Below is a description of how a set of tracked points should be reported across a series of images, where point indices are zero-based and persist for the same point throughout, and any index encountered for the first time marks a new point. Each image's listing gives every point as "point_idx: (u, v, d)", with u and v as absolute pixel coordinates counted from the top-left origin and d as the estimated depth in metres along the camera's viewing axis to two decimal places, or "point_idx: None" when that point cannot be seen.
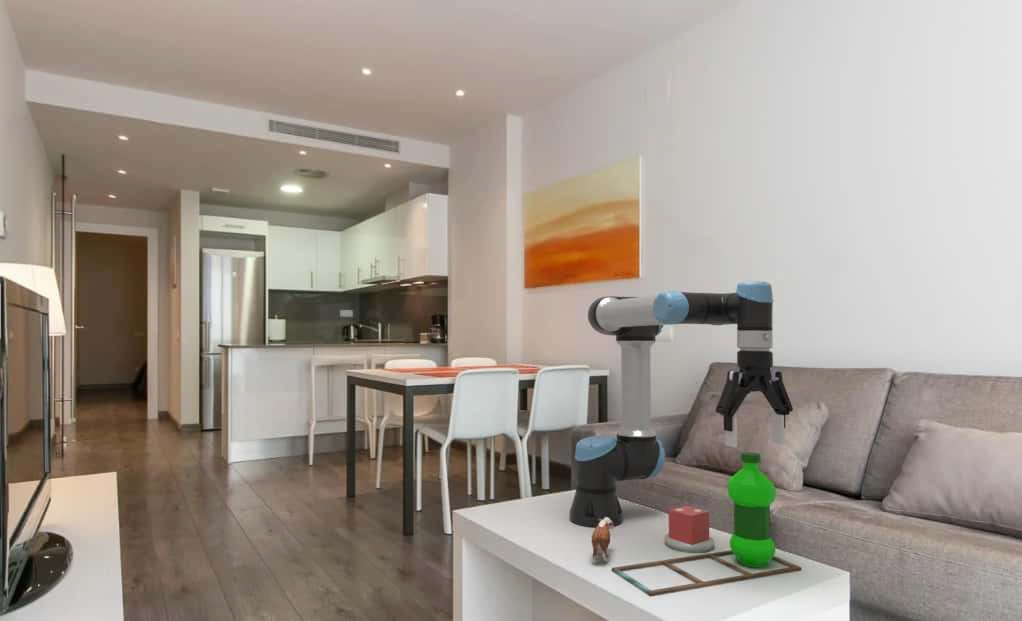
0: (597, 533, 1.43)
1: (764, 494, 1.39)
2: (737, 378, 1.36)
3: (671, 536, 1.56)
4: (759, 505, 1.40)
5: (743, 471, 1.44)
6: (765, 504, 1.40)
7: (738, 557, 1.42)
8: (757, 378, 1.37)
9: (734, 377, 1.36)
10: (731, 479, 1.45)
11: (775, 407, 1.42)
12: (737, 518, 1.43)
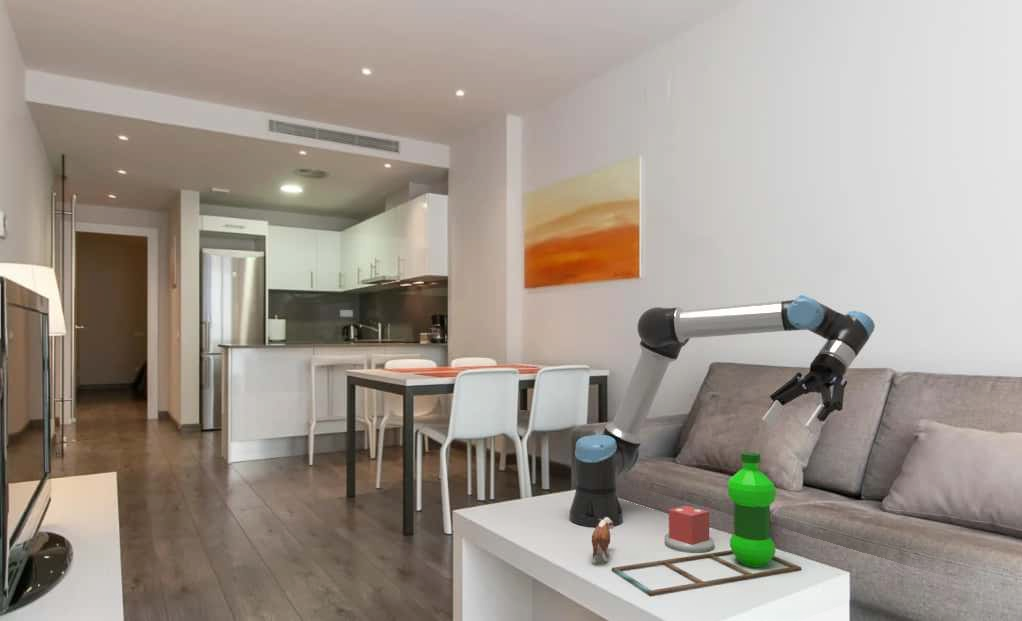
0: (597, 533, 1.43)
1: (764, 494, 1.39)
2: None
3: (671, 536, 1.56)
4: (759, 505, 1.40)
5: (743, 471, 1.44)
6: (765, 504, 1.40)
7: (738, 557, 1.42)
8: None
9: (845, 384, 1.47)
10: (731, 479, 1.45)
11: (785, 399, 1.57)
12: (737, 518, 1.43)
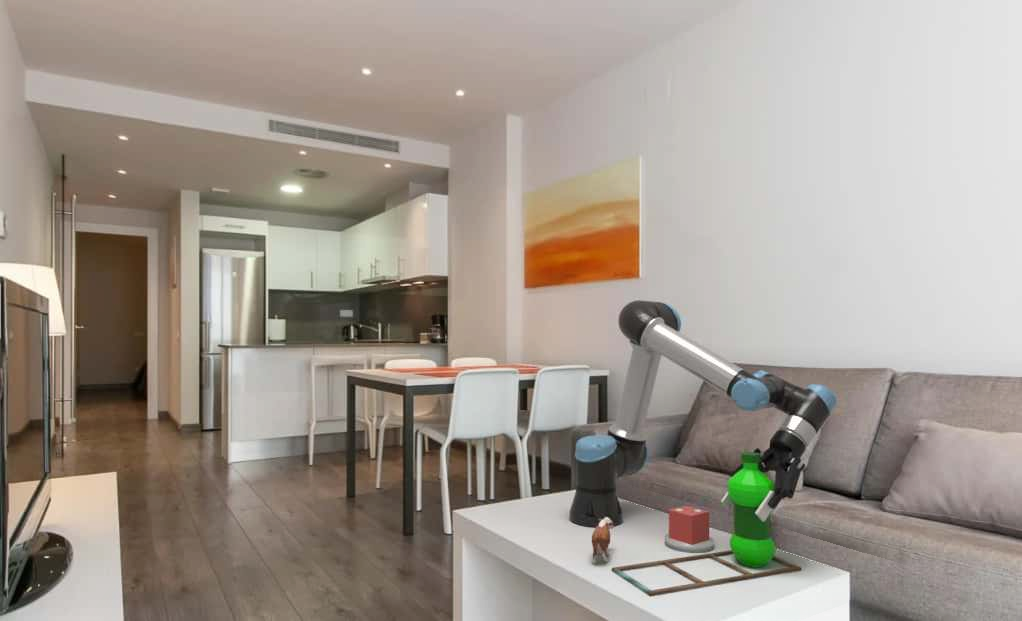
0: (597, 533, 1.43)
1: (764, 494, 1.39)
2: None
3: (671, 536, 1.56)
4: (759, 505, 1.40)
5: (743, 471, 1.44)
6: None
7: (738, 557, 1.42)
8: None
9: (802, 468, 1.41)
10: (731, 479, 1.45)
11: None
12: (737, 518, 1.43)
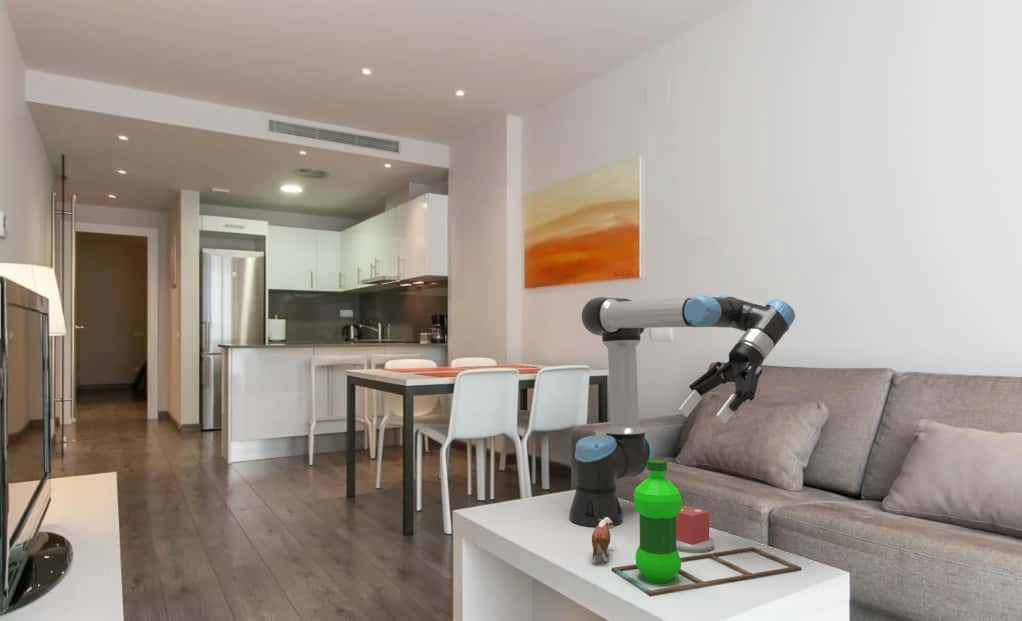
0: (597, 533, 1.43)
1: (667, 505, 1.30)
2: None
3: None
4: (663, 517, 1.30)
5: (648, 480, 1.34)
6: (669, 516, 1.30)
7: (642, 572, 1.32)
8: None
9: (760, 374, 1.43)
10: (636, 488, 1.35)
11: (703, 388, 1.53)
12: (641, 530, 1.33)
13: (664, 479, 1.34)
